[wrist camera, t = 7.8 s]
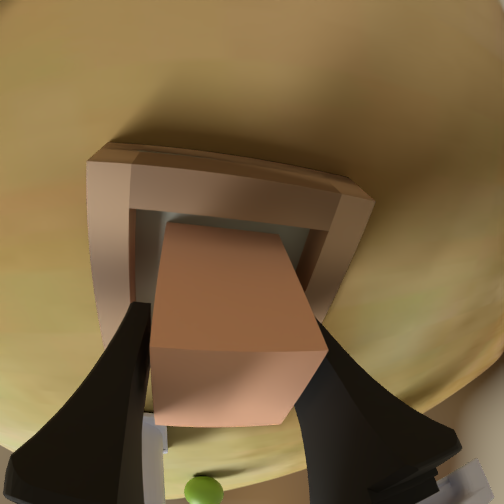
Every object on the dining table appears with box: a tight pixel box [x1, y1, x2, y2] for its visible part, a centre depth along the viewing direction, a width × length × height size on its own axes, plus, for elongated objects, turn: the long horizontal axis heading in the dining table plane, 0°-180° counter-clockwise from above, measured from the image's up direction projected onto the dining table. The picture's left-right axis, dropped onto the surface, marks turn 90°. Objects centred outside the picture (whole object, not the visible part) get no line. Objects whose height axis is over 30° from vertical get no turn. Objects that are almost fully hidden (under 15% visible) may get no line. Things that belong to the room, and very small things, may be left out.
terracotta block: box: [150, 222, 329, 427], centre depth 11 cm, size 4×4×6 cm
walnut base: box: [86, 142, 376, 350], centre depth 13 cm, size 10×10×2 cm
